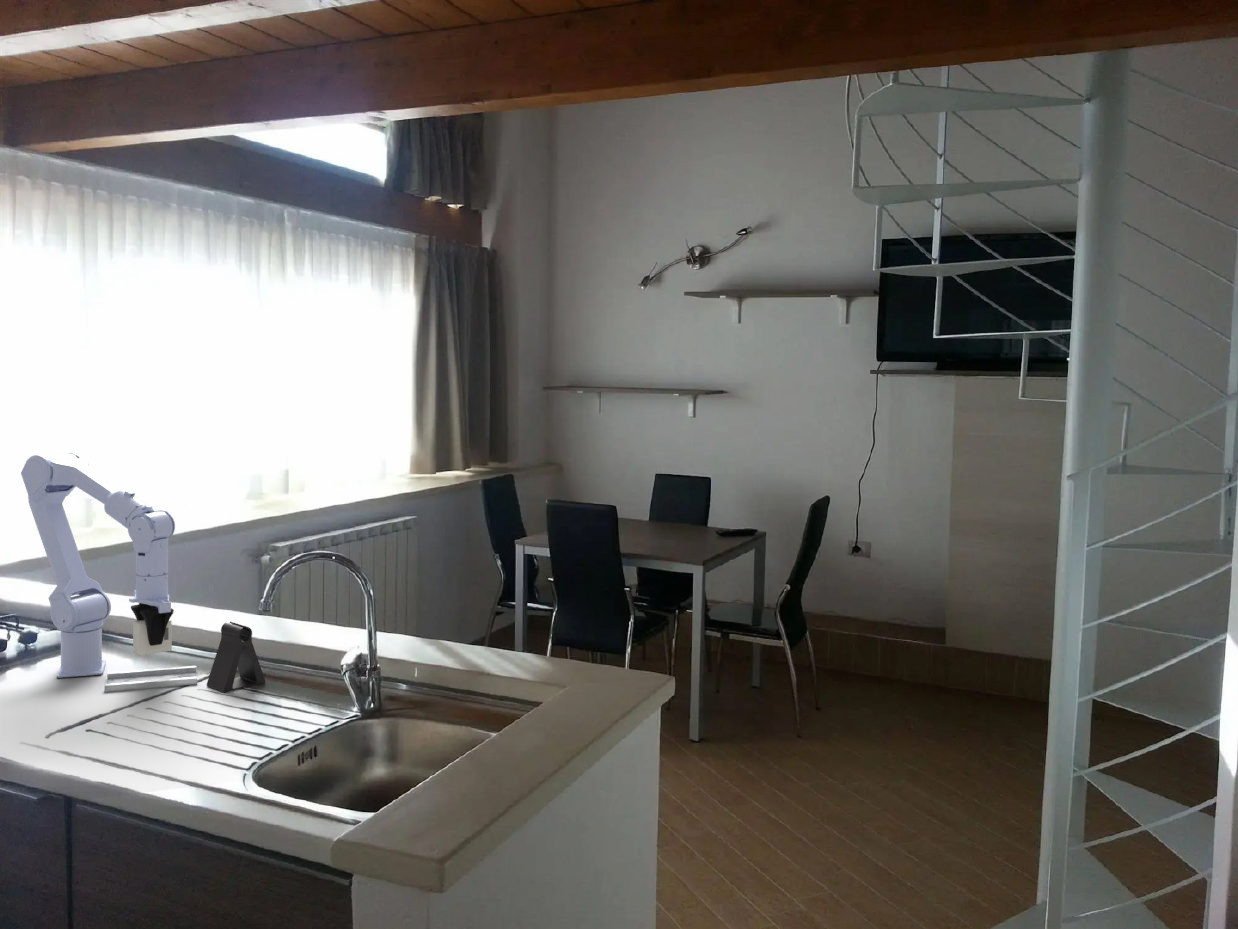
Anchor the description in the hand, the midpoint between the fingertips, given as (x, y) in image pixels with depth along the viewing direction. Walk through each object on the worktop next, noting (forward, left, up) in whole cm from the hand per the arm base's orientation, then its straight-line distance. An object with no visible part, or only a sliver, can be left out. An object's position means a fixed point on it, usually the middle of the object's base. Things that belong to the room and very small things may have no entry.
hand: (152, 642), depth 191 cm
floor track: (0, 0, -8) cm, 8 cm away
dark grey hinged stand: (+7, +15, -8) cm, 18 cm away
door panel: (0, 0, -2) cm, 2 cm away
